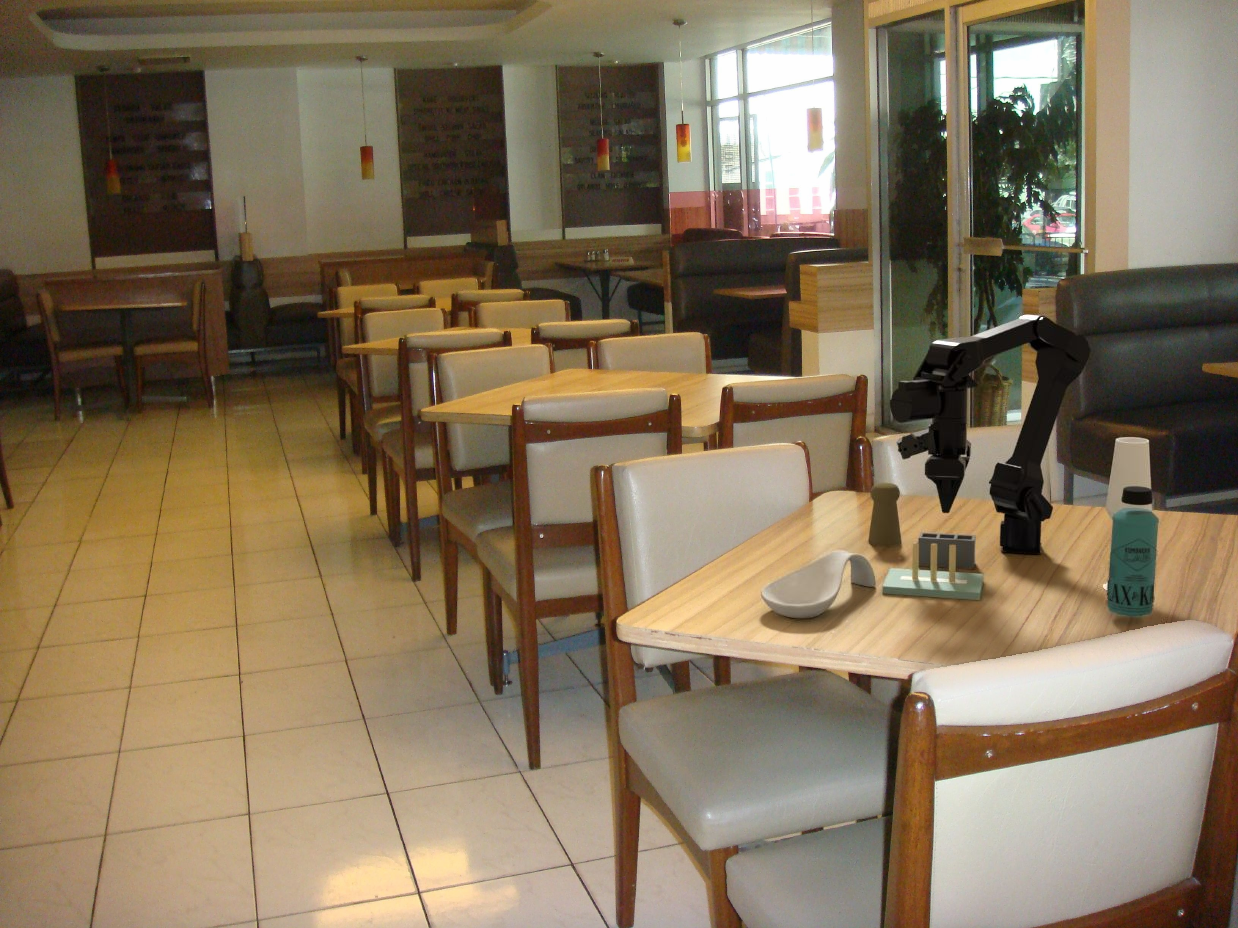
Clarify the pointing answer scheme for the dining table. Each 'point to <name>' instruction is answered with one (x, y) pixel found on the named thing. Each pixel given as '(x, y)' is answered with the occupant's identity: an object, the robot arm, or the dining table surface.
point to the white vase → (1128, 473)
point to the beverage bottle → (1133, 555)
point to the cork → (885, 515)
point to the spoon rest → (816, 584)
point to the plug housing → (947, 549)
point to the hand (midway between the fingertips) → (948, 506)
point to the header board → (933, 579)
